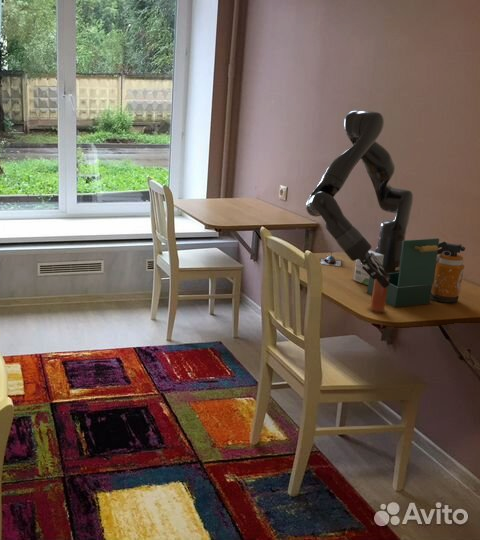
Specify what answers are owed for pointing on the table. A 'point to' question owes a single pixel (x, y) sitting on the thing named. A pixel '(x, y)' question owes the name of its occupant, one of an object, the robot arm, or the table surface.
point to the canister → (448, 273)
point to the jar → (379, 295)
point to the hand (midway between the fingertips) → (387, 283)
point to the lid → (418, 262)
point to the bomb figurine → (330, 261)
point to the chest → (404, 292)
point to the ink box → (360, 273)
